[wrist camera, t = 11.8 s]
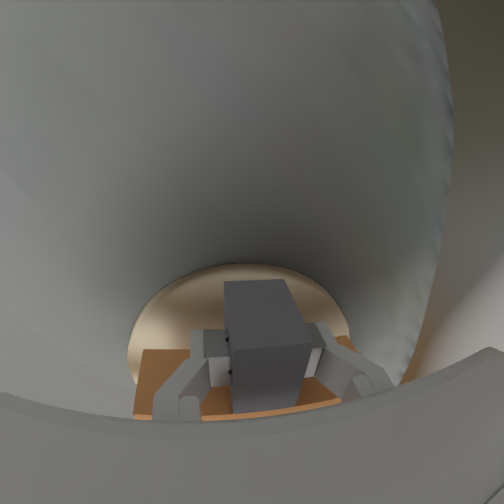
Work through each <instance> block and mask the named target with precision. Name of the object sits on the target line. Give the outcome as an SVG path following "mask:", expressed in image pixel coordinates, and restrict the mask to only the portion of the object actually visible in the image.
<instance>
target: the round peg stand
mask: <svg viewBox="0 0 504 504" xmlns="http://www.w3.org/2000/svg"><path fill="white" fill-rule="evenodd" d="M268 279H284V280H285V282H286V284H287V286H288V288H289V290H290V292H291V295H292V297H293V299H294V301H295V303H296V305H297V307H298V309H299V311H300V313H301V315H302V317H303V319H304V321H305V323H311V322H312V323H313V322H318V321H325V322H326V324H327V325H328V327H329V329H330V331H331V332H332V334H333V336H334V337H337V336H343V335H347V336H348V338H349V340H350V335H349V328H348V324H347V321H346V319H345V317H344V315H343V313H342V312H341V310H340V309H339V307H338V306H337V304H336V302H335V301H334V300H333V298H332V297H331V296H330V294H329V293H328V292H327V291H326V290H325V289H324V288H323V287H322V286H321V285H320V284H318V283H317V282H315V281H314V280H312V279H311V278H309V277H307V276H306V275H303V274H301V273H299V272H296V271H294V270H291V269H287V268H284V267H280V266H276V265H269V264H262V263H235V264H224V265H219V266H214V267H210V268H205V269H202V270H199V271H196V272H193V273H190V274H188V275H186V276H184V277H182V278H179V279H177V280H175V281H173V282H172V283H170V284H169V285H167V286H166V287H164V288H163V289H161V290H160V291H159V292H158V293H157V294H155V295H154V296H153V297H152V298H151V299H150V300H149V301H148V302H147V304H146V305H145V306H144V307H143V308H142V310H141V312H140V313H139V315H138V317H137V319H136V321H135V324H134V327H133V330H132V334H131V338H130V341H129V346H128V354H127V356H128V366H129V369H130V372H131V375H132V377H133V379H134V381H135V383H136V384H137V382H138V376H139V370H140V364H141V358H142V353H143V349H190V332H191V330H203V331H204V329H224V281H244V280H268Z"/></svg>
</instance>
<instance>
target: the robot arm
mask: <svg viewBox="0 0 504 504" xmlns="http://www.w3.org/2000/svg"><path fill="white" fill-rule="evenodd" d="M305 324H306V326H307V328H308V330H309V332H310V334H311V336H312V338H313V340H314V345H313V349H312V352H311V356H310V359H309V363H308V366H307V370H306V373H305V377H304V378H307V377H314V376H315V378H316V379H317V380H318V381H319V382H321V383H322V384H323V385H324V386H325V387H327V388H328V389H329V390H330V391H331V392H333V393H334V394H335V395H336V396H338V397H339V398H340V399H341V402H340V403H338V404H334V405H330V406H325V407H321V408H316V409H311V410H305V411H300V412H294V413H287V414H281V415H273V416H265V417H257V418H247V419H234V420H218V421H203V419H202V414H201V408H200V405H201V404H202V402H203V400H204V399H205V397H206V396H207V394H208V392H209V391H210V389H211V387H219V386H231V350H230V343H229V335H228V329H204V331H203V330H191V332H190V359H186V360H185V361H184V362H183V363H182V364H181V365H180V366H179V367H178V369H177V370H176V371H175V372H174V373H173V374H172V375H171V376H170V377H169V378H168V380H167V381H166V382H165V383H164V384H163V385H162V386H161V387H160V388H159V390H158V391H157V392H156V393H155V394H154V400H153V410H152V420H140V419H129V418H119V417H111V416H103V415H96V414H90V413H84V412H79V411H73V410H68V409H64V408H59V407H55V406H51V405H46V404H43V403H39V402H35V401H32V400H28V399H25V398H21V397H18V396H15V395H13V394H10V393H7V392H0V504H504V352H502V351H499V350H497V349H495V348H492V347H487V348H484V349H482V350H480V351H478V352H476V353H475V354H473V355H471V356H469V357H467V358H465V359H463V360H461V361H459V362H456V363H454V364H452V365H450V366H448V367H446V368H444V369H441V370H439V371H436V372H434V373H432V374H429V375H427V376H424V377H422V378H419V379H416V380H414V381H411V382H408V383H406V384H403V385H400V386H397V387H395V386H394V385H393V383H392V382H391V380H390V378H389V377H388V375H387V373H386V372H385V370H384V369H383V368H382V367H380V366H378V365H376V364H375V363H373V362H371V361H369V360H367V359H366V358H364V357H362V356H360V355H359V354H357V353H355V352H353V351H352V350H350V349H348V348H346V347H345V346H343V345H338V343H337V341H336V339H335V338H334V336H333V334H332V332H331V331H330V329H329V327H328V325H327V324H326V322H325V321H318V322H313V323H312V322H311V323H305Z"/></svg>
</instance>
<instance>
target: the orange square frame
mask: <svg viewBox="0 0 504 504" xmlns="http://www.w3.org/2000/svg"><path fill="white" fill-rule="evenodd" d="M224 329H228V335H229V343H230V350H231V386H219V387H211V389H210V391H209V392H208V394H207V396H206V397H205V399H204V400H203V402H202V404H201V405H200V408H201V414H202V419H203V421H218V420H234V419H247V418H257V417H265V416H273V415H281V414H287V413H294V412H300V411H305V410H311V409H316V408H321V407H325V406H330V405H334V404H338V403H340V402H341V399H340V398H339V397H338V396H336V395H335V394H334V393H333V392H331V391H330V390H329V389H328V388H327V387H325V386H324V385H323V384H322V383H321V382H319V381H318V380H317V379H316V378H315V376H314V377H307V378H304V377H305V373H306V370H307V366H308V363H309V359H310V356H311V352H312V349H313V345H314V340H313V338H312V336H311V334H310V332H309V330H308V328H307V326H306V324H305V321H304V319H303V317H302V315H301V313H300V311H299V309H298V307H297V305H296V303H295V301H294V299H293V297H292V295H291V292H290V290H289V288H288V286H287V284H286V282H285V280H284V279H268V280H244V281H224ZM334 338H335V339H336V341H337V343H338V345H343V346H345V347H346V348H348V349H350V350H352V351H353V352H355V353H357V351H356V350H355V348H354V346H353V345H352V343H351V341H350V340H349V338H348V336H347V335H343V336H337V337H334ZM357 354H358V353H357ZM186 359H190V349H143V353H142V358H141V364H140V370H139V376H138V382H137V389H136V396H135V403H134V410H133V415H134V416H135V418H136V419H140V420H152V410H153V400H154V394H155V393H156V392H157V391H158V390H159V388H160V387H161V386H162V385H163V384H164V383H165V382H166V381H167V380H168V378H169V377H170V376H171V375H172V374H173V373H174V372H175V371H176V370H177V369H178V367H179V366H180V365H181V364H182V363H183V362H184V361H185V360H186Z"/></svg>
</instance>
